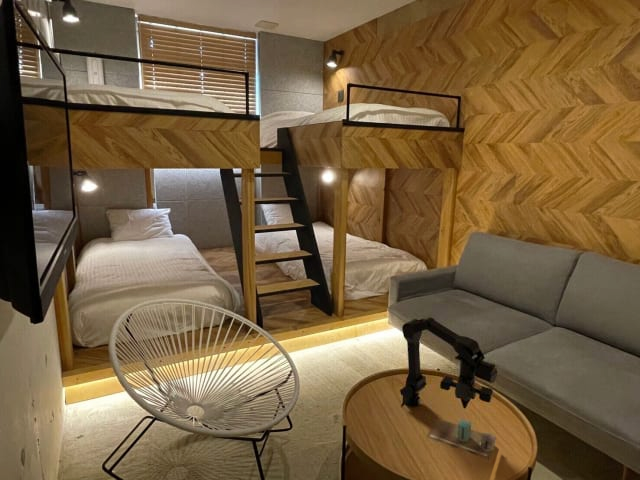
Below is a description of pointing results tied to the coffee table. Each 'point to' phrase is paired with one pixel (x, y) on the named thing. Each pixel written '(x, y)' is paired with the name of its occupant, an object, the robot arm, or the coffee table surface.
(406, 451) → the coffee table surface
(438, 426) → the board
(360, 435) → the coffee table surface
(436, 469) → the coffee table surface
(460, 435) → the sage green box
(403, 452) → the coffee table surface
